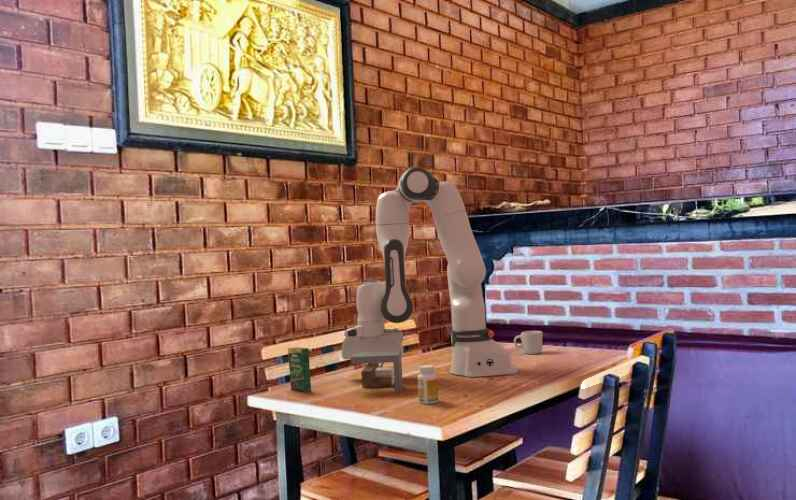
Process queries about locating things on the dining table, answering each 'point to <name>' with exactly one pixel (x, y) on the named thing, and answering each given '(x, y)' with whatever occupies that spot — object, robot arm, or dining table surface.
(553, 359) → the dining table surface
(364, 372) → the wooden stepped block
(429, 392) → the supplement bottle
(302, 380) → the coffee box
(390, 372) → the cream block
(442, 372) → the dining table surface
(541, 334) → the cup
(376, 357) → the low shelf
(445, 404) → the dining table surface
